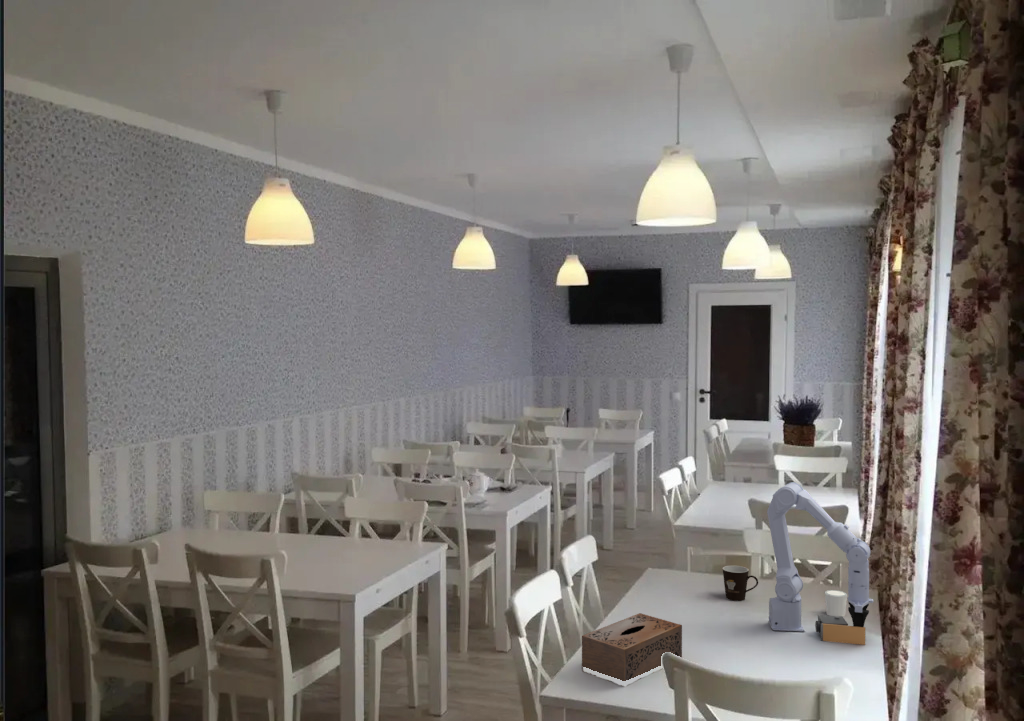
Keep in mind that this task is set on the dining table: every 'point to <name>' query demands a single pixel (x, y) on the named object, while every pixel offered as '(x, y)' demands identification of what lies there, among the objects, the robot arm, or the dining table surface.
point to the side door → (843, 634)
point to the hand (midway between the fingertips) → (858, 629)
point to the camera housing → (829, 621)
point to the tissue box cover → (630, 646)
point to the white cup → (835, 602)
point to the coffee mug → (736, 582)
